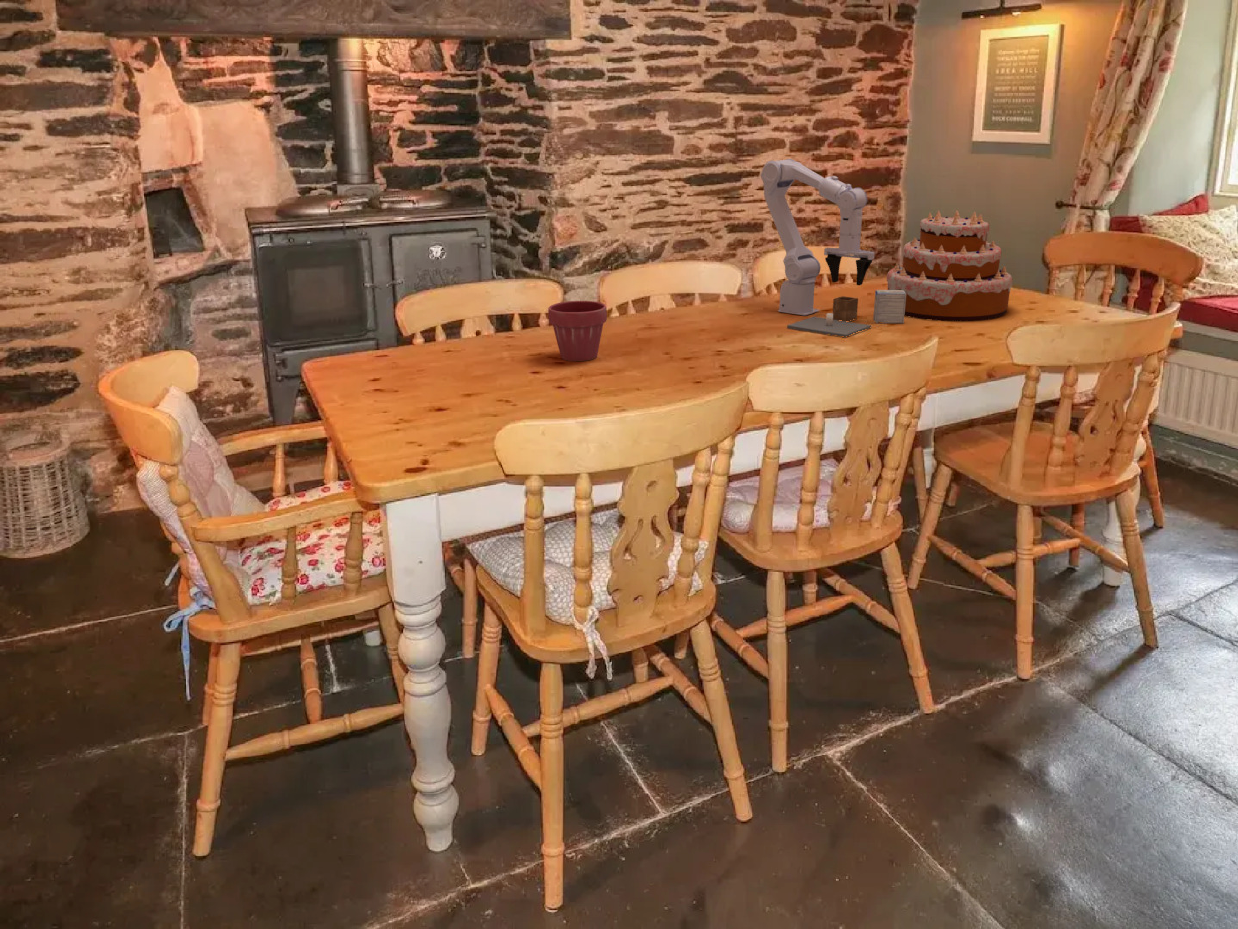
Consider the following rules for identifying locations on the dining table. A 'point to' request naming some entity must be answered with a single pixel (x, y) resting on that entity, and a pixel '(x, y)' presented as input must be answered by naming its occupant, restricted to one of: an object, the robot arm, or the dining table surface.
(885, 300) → the medicine box
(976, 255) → the cake
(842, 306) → the walnut collar
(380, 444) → the dining table surface
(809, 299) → the robot arm
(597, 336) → the plant pot
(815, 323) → the pin board
